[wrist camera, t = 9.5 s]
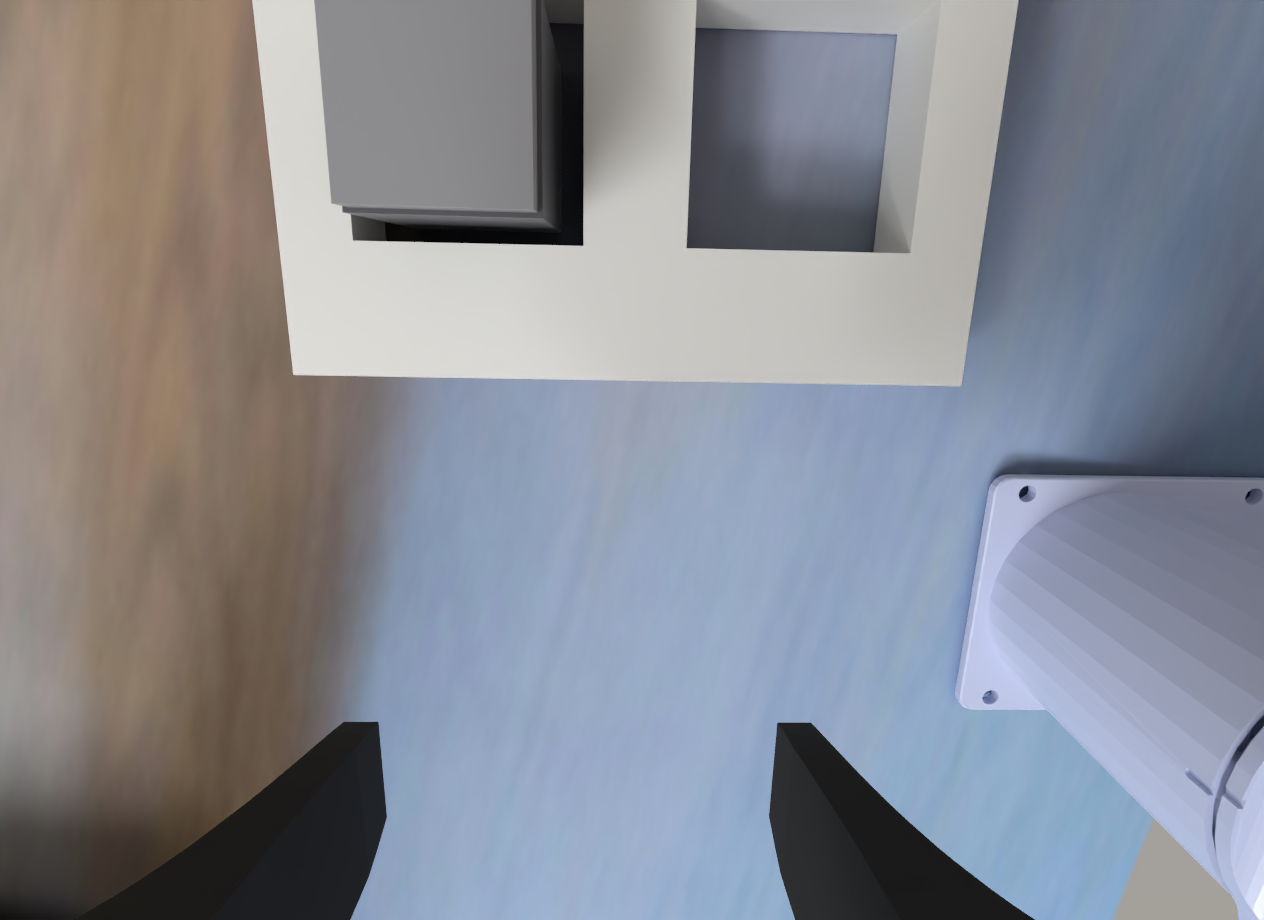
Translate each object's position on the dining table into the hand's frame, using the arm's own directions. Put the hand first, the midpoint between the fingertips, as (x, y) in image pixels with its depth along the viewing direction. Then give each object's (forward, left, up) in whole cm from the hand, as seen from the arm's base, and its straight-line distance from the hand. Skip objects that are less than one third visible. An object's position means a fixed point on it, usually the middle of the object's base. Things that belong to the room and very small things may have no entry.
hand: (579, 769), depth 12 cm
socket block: (-1, -12, -9) cm, 15 cm away
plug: (+3, -12, -10) cm, 15 cm away
